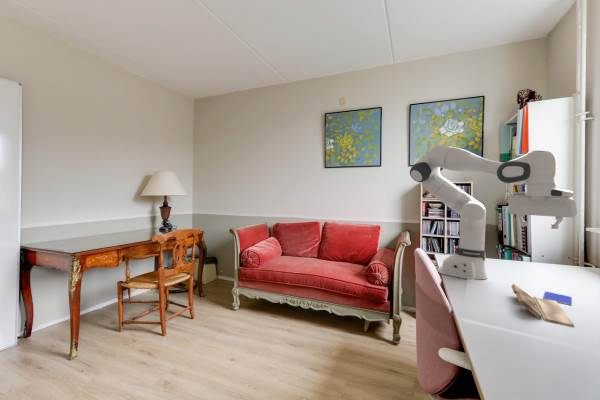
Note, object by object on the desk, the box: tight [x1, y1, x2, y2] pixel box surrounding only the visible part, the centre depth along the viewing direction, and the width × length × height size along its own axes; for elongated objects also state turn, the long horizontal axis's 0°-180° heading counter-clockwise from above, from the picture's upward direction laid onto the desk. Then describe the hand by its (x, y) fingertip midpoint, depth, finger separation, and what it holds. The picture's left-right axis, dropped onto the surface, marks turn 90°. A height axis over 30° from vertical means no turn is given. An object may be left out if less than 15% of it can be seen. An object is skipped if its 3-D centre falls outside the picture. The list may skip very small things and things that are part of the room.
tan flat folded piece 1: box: [515, 292, 543, 320], centre depth 94 cm, size 7×10×1 cm
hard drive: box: [542, 291, 573, 307], centre depth 107 cm, size 2×8×12 cm
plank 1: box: [511, 283, 536, 306], centre depth 104 cm, size 7×10×1 cm
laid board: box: [532, 296, 575, 327], centre depth 95 cm, size 7×23×1 cm, turn 146°
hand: (538, 227), depth 103 cm, fingers open, 8 cm apart
